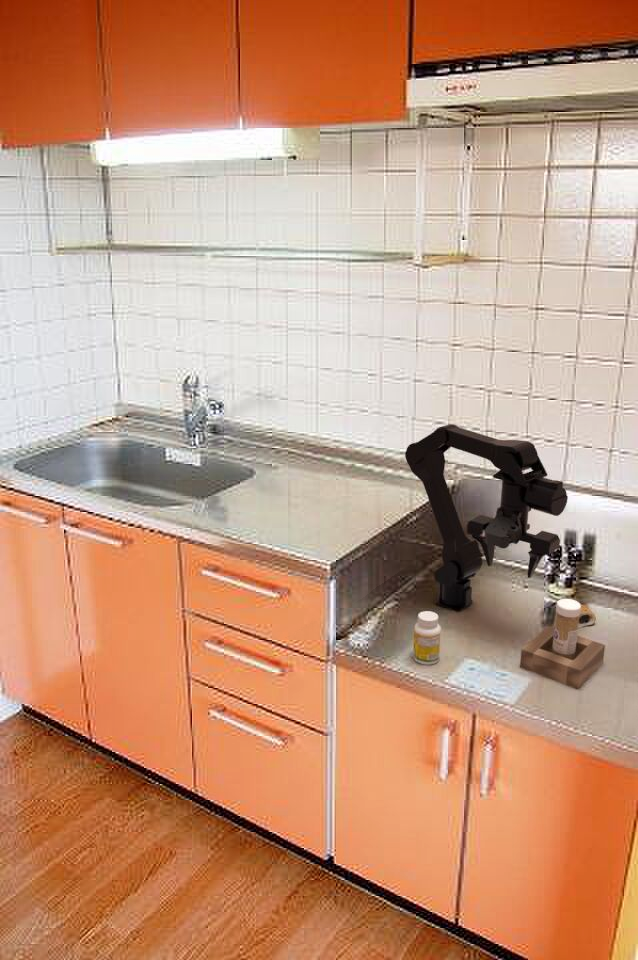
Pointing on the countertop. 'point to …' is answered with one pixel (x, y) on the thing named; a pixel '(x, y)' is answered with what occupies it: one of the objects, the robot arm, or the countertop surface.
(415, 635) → the supplement bottle
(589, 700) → the countertop surface
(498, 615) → the countertop surface
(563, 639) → the sprinkles bottle
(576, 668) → the socket block
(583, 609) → the pastry
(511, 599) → the countertop surface
